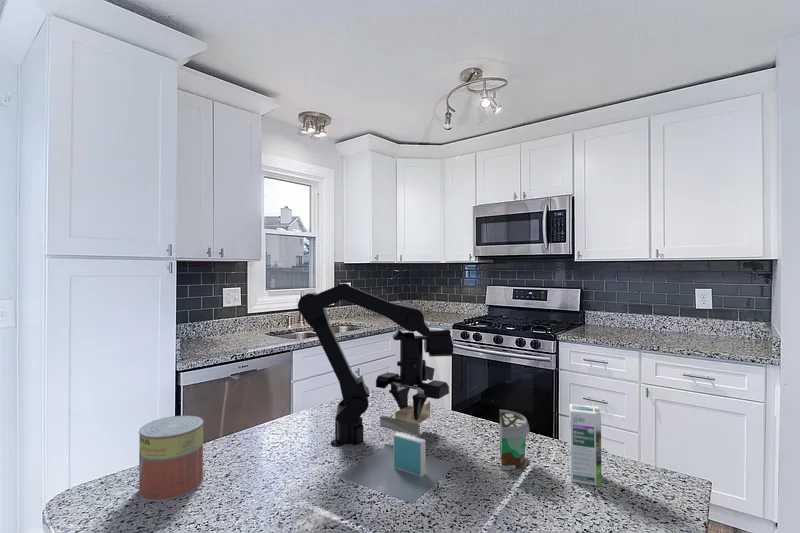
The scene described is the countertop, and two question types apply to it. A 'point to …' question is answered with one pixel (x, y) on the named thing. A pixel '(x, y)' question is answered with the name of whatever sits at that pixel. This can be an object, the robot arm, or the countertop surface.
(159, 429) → the canned food
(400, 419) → the block
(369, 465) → the slate board
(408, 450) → the tile
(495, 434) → the countertop surface
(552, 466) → the countertop surface
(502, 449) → the food container
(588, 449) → the syrup box
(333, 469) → the countertop surface
